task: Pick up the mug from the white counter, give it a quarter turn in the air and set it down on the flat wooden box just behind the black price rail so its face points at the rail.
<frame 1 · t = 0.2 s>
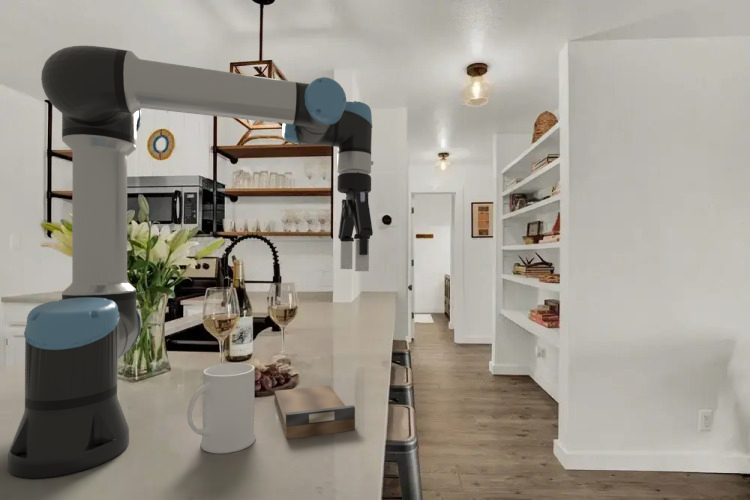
hand: (353, 270, 94), 28 cm above the countertop, fingers open, 13 cm apart
flat wooden box: (311, 413, 82), on the countertop
mug: (219, 446, 69), on the countertop
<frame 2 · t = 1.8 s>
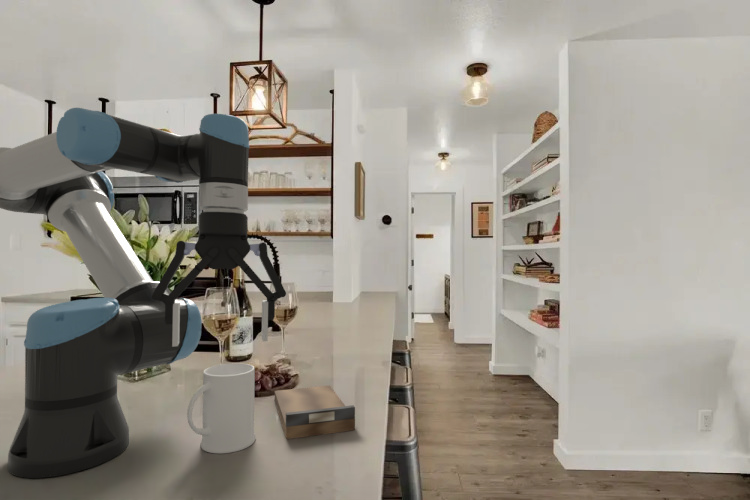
hand: (221, 342, 69), 17 cm above the countertop, fingers open, 13 cm apart
nothing on the countertop moved.
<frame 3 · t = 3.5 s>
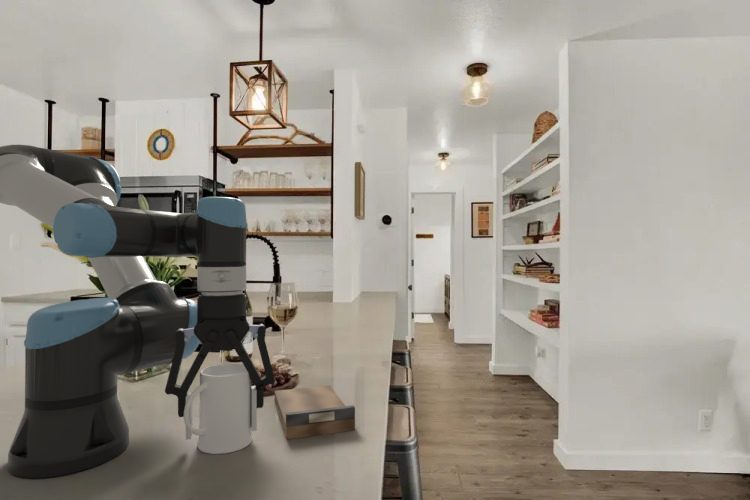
hand: (222, 431, 69), 2 cm above the countertop, fingers closed on mug, 9 cm apart
mug: (216, 447, 68), on the countertop, touching gripper
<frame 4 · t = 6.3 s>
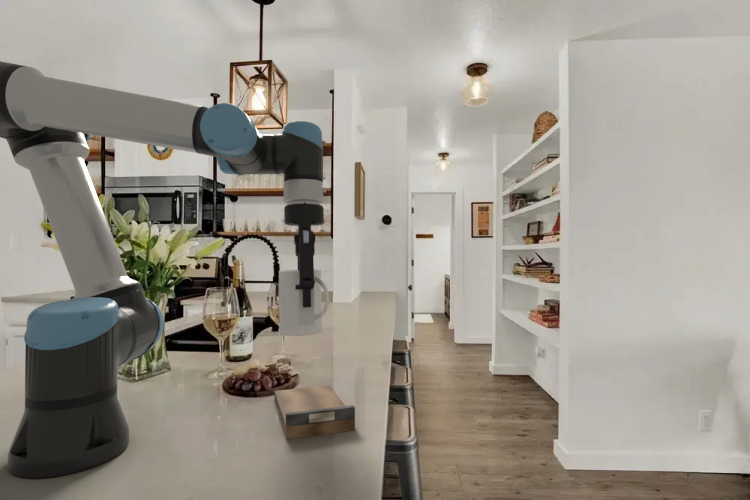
hand: (305, 320, 82), 18 cm above the countertop, fingers closed on mug, 9 cm apart
mug: (305, 334, 81), point 16 cm above the countertop, touching gripper
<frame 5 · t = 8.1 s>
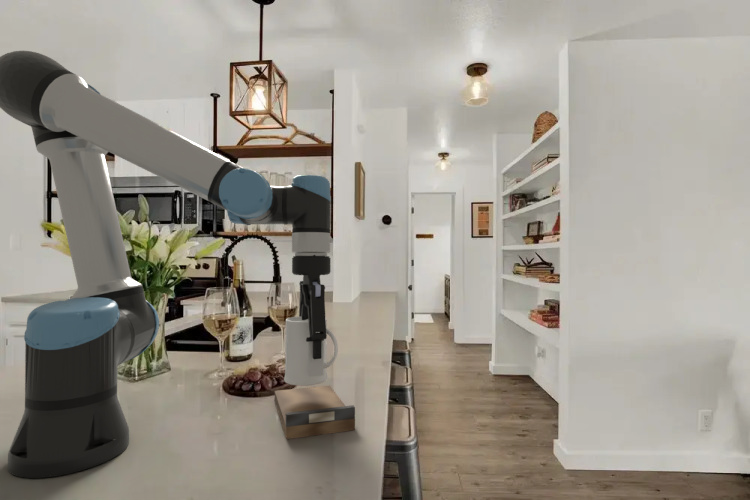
hand: (311, 368, 84), 8 cm above the countertop, fingers closed on mug, 9 cm apart
mug: (312, 382, 83), point 6 cm above the countertop, touching gripper
when the fingers open (5 cm above the countertop, at t = 9.2 s): mug drops 1 cm, resting on flat wooden box.
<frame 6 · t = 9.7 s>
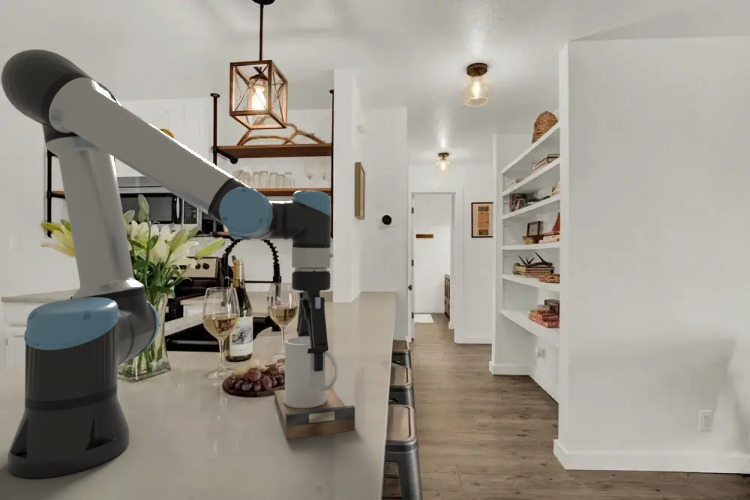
hand: (310, 377, 83), 7 cm above the countertop, fingers open, 13 cm apart
mug: (311, 403, 83), point 2 cm above the countertop, touching flat wooden box
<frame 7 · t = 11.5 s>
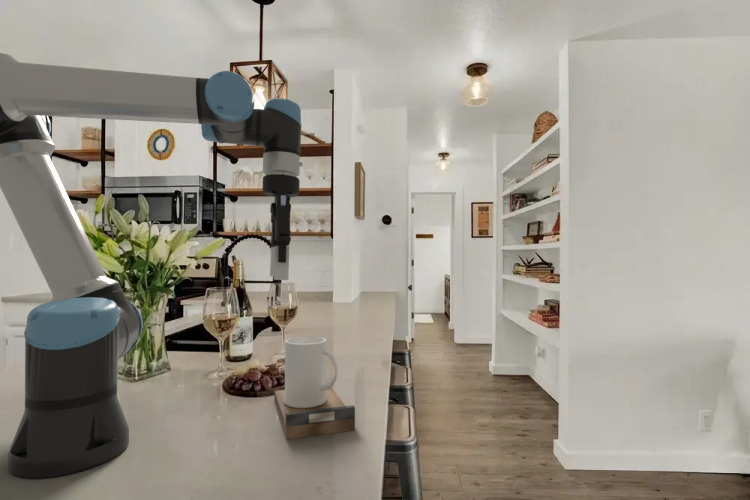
hand: (278, 278, 88), 26 cm above the countertop, fingers open, 13 cm apart
nothing on the countertop moved.
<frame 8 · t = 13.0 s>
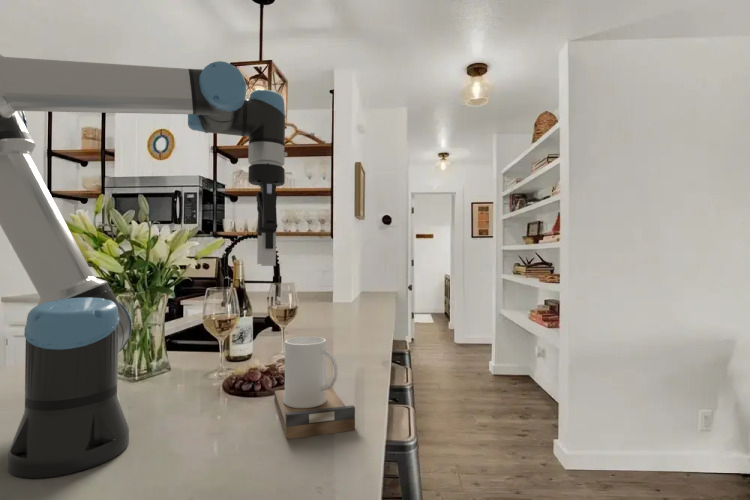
hand: (265, 265, 91), 29 cm above the countertop, fingers open, 13 cm apart
nothing on the countertop moved.
at the end: mug inside the target area (0.6 cm from its centre), point 1.8 cm above the countertop; mug tilted 0°; the gripper is holding nothing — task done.
